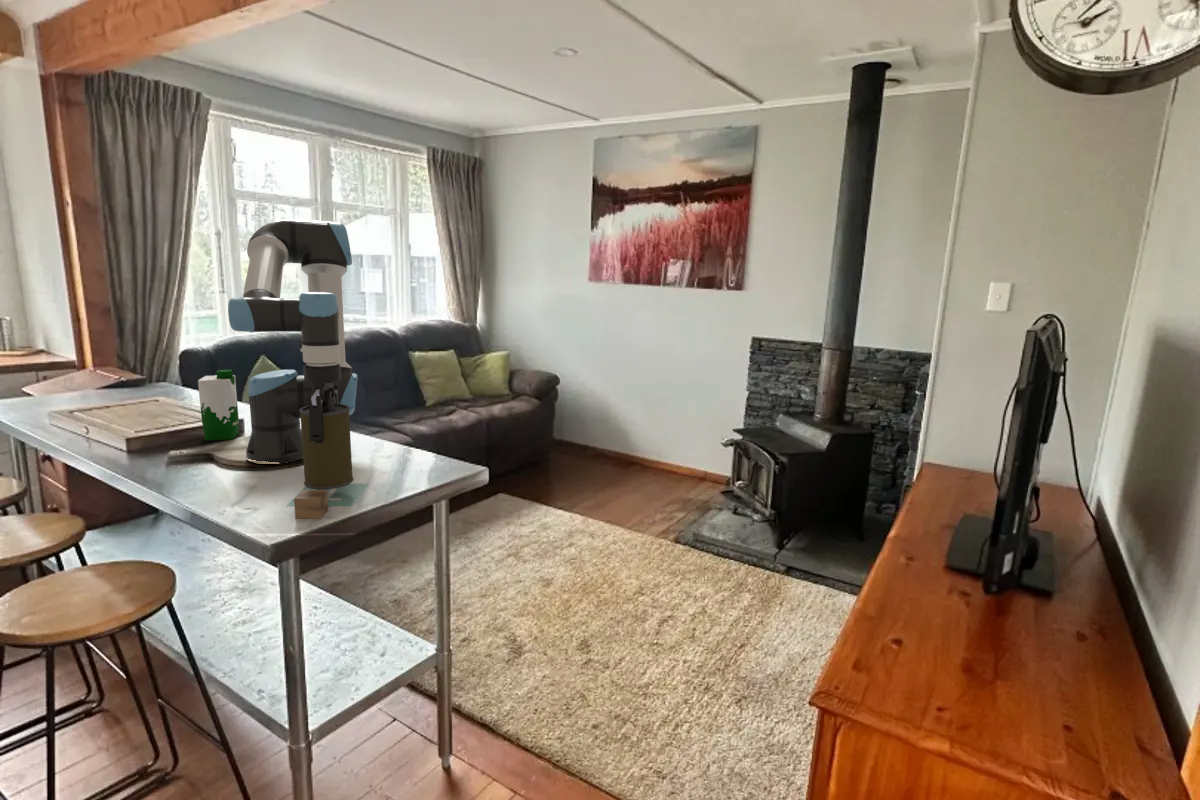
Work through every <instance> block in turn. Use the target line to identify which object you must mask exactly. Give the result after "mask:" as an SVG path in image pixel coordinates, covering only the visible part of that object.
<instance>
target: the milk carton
mask: <svg viewBox="0 0 1200 800" xmlns="http://www.w3.org/2000/svg"><path fill="white" fill-rule="evenodd" d="M215 372H216V374H215V375H204V376H203V377H201V378H199V379H198V380H197V385H198V394H199V405H200V416H201V423H202V429H203V434H204V439H205V441H206V442H207V441H208V442H209V441H226V440H227V441H228V440H229V441H230V440H231V441H233V440H234V439H235V438H236V437H237V436H238V435H239V431H240V429H239V427H240V426H239V423H240V421H239V419H240V418H239V408H238V407H239V406H238V397H237V386H236V385H237V384H236V375H234V374H233V370H232V369H226V368H225V369H218V370H216V371H215Z"/></svg>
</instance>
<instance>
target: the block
mask: <svg viewBox="0 0 1200 800" xmlns="http://www.w3.org/2000/svg"><path fill="white" fill-rule="evenodd" d="M293 499H294V506H293V507H294V519H315V520H322V518H323V517H324V516H325V515H326V514H327V512H328V510H329V506H328V500H327V490H303V489H302V490H301V491H299V492H298V493H297V494H296V496H295V497H294V498H293Z"/></svg>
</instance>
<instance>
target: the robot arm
mask: <svg viewBox="0 0 1200 800" xmlns="http://www.w3.org/2000/svg"><path fill="white" fill-rule="evenodd" d="M246 253H247V256H248V259H249V262H248V267H247V273H246V277H245V281H244V282H245V283H244V288H243V293H242V296H239V297H232V298H230V299H229V301H228V304H227V306H228V307H227V308H228V309H227V312H228V321H229V325H230V327H231V329H232V331H235V332H244V333H245V332H246V333H247V332H248V333H269V332H270V333H271V332H272V333H273V332H277V333H280V332H281V333H283V332H286V333H287V332H289V333H290V332H291V333H293V332H298V333H299V332H301V347H300V349H299V350H300V352H301V353H302V362H304V365H303V367H302V369H303V375H298V372H297V371H296V370H295V369H278V370H272V371H267V372H262V373H258V374H255V375H254V376H252V377H251V378H250V379H249V380H248V392H247V393H248V394H247V397H248V399H249V400H248V401H249V412H250V422H251V423H250V424H251V425H250V427H251V432H250V436H249V440H248V444H247V447H246V450H245V454H246V455H245V456H246V459H247V458H248V459H251V460H256V461H266V462H267V461H268V462H279V463H286V462H287V463H286V464H289V463H288V462H291V463H295V462H294V461H296V460H299V459H301V458H302V457H303V446H302V432H301V417H300V412H299V410H300V408H303V407H305V406H309V423H310V438H309V440H310V441H315V442H316V443H322V441H323V439H324V440H325V438H324V436H323V413H327V412H328V410H329V409H330V401H329V399H331V397H333V398H334V399H335V400H334V405H335V404H344V405H347V406H349V407H350V410H349V416H351V415H352V414H353V413H354V412H355V409H356V397H357V388H358V387H357V386H358V374H357V373H354V372H353V367H352V366H351V365H350V364H349V363H348V362H346V345H345V344H346V343H345V342H346V341H345V325H344V324H345V323H344V301H343V299H344V298H343V283H342V282H343V281H342V280H343V279H342V278H343V276H344V275H345V274H346V273H347V272H348V267H349V266H351V265H352V264H353V258H352V252H351V246H350V239H349V236H348V231H347V227H346V226H345V225H344V224H343V223H342V222H335V221H329V220H308V219H307V220H306V219H291V218H282V219H277V220H273V221H271V222H268V223H266V224H265V225H263V226H260V228H258V229H257V230H256V231H255V232H254V233H253V234H252V235H251V237H249V241H248V244H247V248H246ZM286 264H301V265H300V269H301V271H302V272H303V273H304V274H305V275H306V277H307V286H308V287H307V288H308V289H307V290H308V291H306V292H301V293H300V294H299V298H288V297H287V298H283V297H282V298H281V293H282V282H283V272H284V271H283V270H284V266H285V265H286ZM347 266H348V267H347ZM325 401H326V402H325ZM322 405H323V406H325V407H322ZM299 461H300V460H299ZM296 462H297V461H296Z"/></svg>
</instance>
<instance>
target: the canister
mask: <svg viewBox="0 0 1200 800" xmlns="http://www.w3.org/2000/svg"><path fill="white" fill-rule="evenodd" d="M334 400H335V399H334V398H333V397H331V399H329V401H330V409H329V410H328V412H327V413H323V436H324V438H325V440H324V439H323V441H322V443H316V442H315V441H310V440H309V438H310V423H309V406H305V407H303V408H300V410H299V412H300V417H301V418H300V428H301V432H302V446H303V459H302V460H303V475H304V481H303V485H304V487H307V488H310V489H317V490H326V489H335V488H340V487H344V486H346V485H349V484H352V483H353V482H354V477H353V465H352V464H353V462H352V461H353V460H352V447H351V446H352V443H351V427H350V426H351V425H350V424H351V423H350V415H349V410H350V407H349V406H347V405H344V404H335V405H334ZM325 402H326V401H325ZM322 407H325V406H323V405H322Z"/></svg>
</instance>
